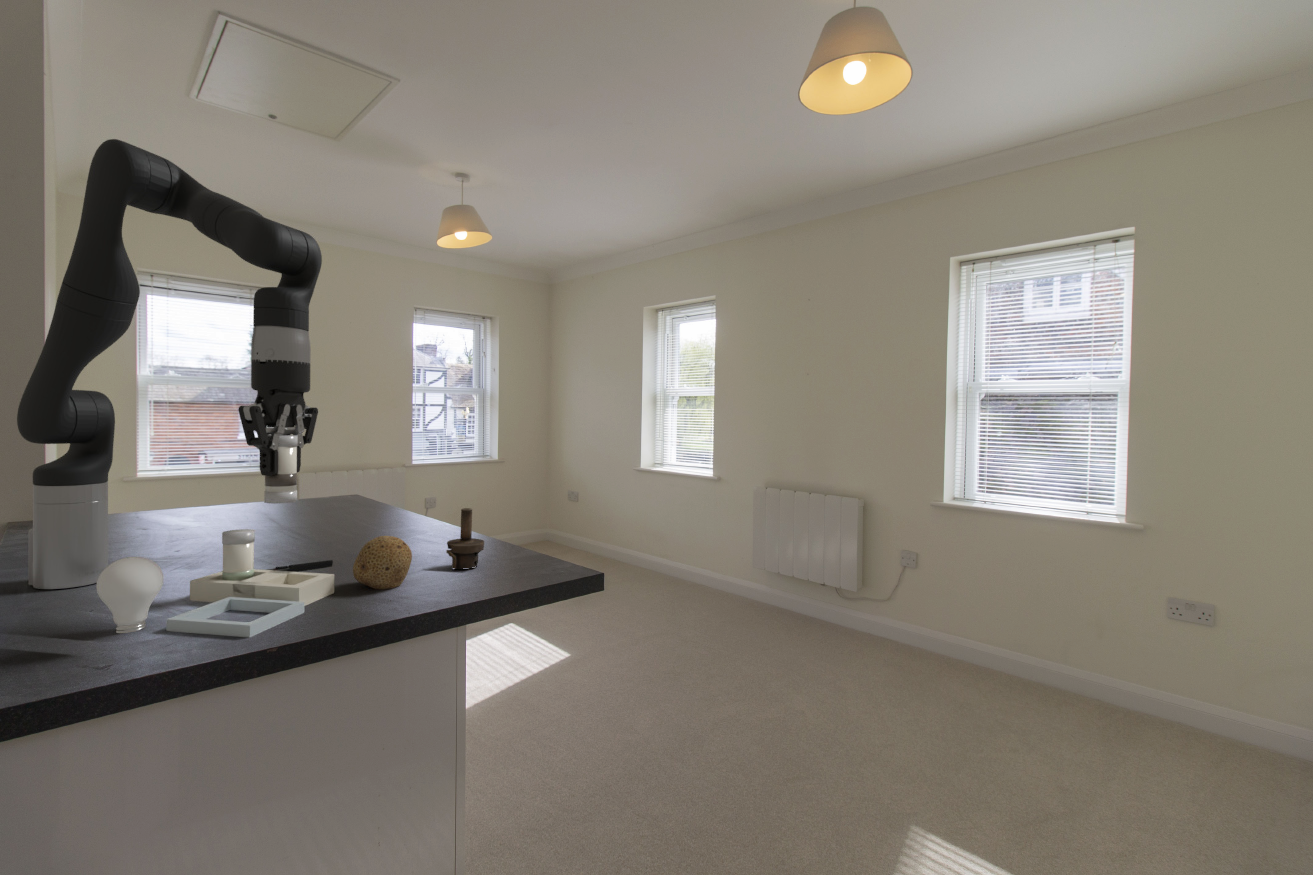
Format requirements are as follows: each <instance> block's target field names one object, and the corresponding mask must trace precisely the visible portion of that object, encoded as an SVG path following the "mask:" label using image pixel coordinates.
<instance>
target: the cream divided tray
mask: <svg viewBox="0 0 1313 875" xmlns="http://www.w3.org/2000/svg"><path fill="white" fill-rule="evenodd" d="M222 571H223V570H221V571H218V572H215V573H211V574H209V575H204V576H201V577H198V578H194V579H191V580H189V601H190V602H203V603H214V602H216V601H219V600H222V599H225V598H228V597H239V598H254V599H268V600H283V601H297V602H304V607H305V606H308V605H310V604H312V603H315V602H317V601H319V600H321V599H323V598H326V597H328V596H331V595H332V594H334V593H335V573H322V572H321V573H319V572H305V571H300V572H291V571H275V570H267V569H258V568H257V569H256V568H254V577H252V578H249V579H246V580H243V581H227V580H223V579H222Z"/></svg>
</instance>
